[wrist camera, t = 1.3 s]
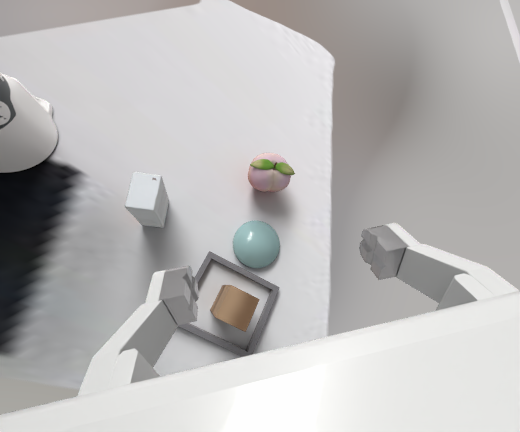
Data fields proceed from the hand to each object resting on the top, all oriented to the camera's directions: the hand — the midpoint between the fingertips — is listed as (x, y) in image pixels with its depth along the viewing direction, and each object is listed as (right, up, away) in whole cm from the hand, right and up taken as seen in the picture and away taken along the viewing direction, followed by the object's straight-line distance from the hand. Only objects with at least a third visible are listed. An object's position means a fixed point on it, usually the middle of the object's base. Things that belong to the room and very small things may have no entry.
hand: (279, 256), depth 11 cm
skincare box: (-22, +2, +36) cm, 42 cm away
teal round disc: (-2, -4, +39) cm, 40 cm away
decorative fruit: (0, +10, +44) cm, 45 cm away
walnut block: (-7, -15, +34) cm, 38 cm away
